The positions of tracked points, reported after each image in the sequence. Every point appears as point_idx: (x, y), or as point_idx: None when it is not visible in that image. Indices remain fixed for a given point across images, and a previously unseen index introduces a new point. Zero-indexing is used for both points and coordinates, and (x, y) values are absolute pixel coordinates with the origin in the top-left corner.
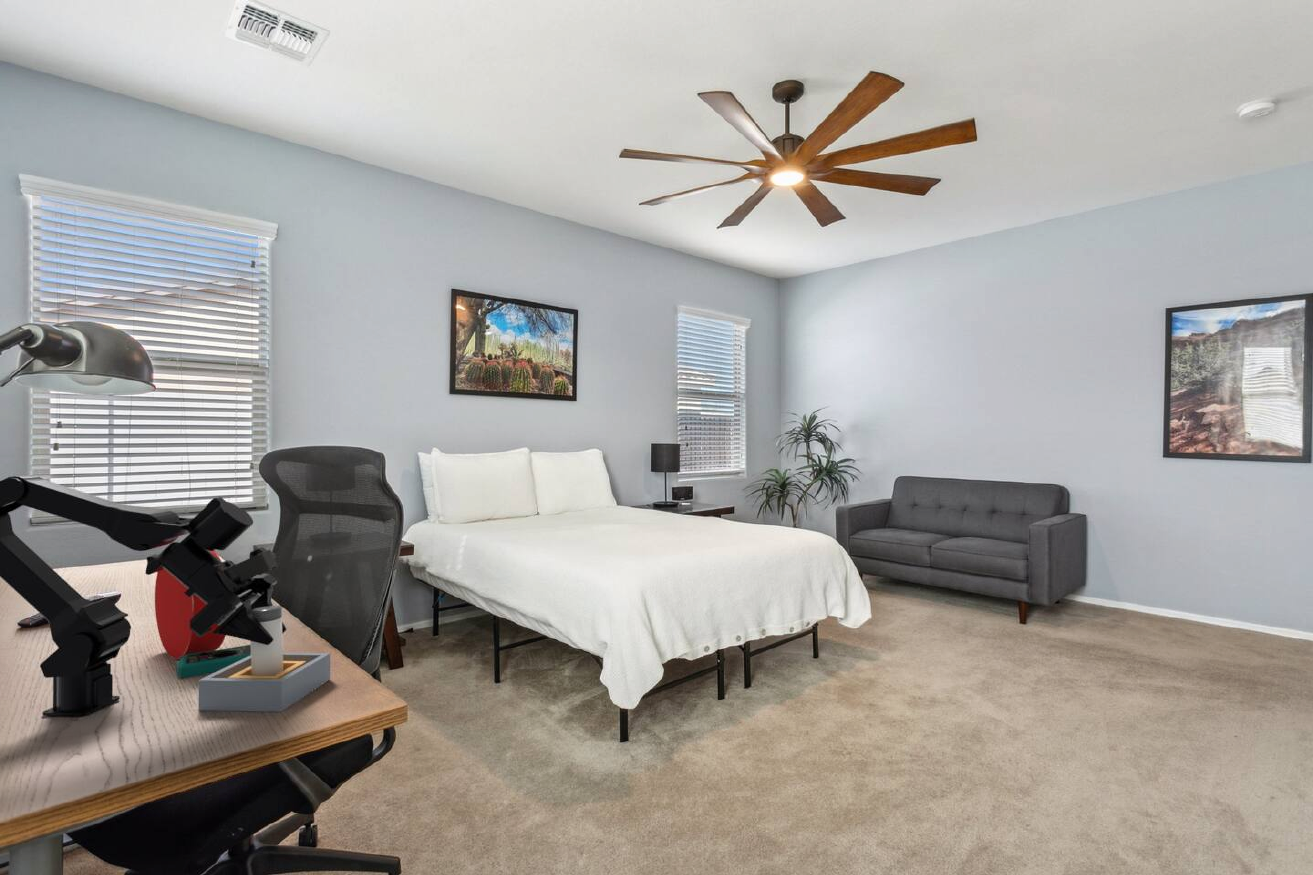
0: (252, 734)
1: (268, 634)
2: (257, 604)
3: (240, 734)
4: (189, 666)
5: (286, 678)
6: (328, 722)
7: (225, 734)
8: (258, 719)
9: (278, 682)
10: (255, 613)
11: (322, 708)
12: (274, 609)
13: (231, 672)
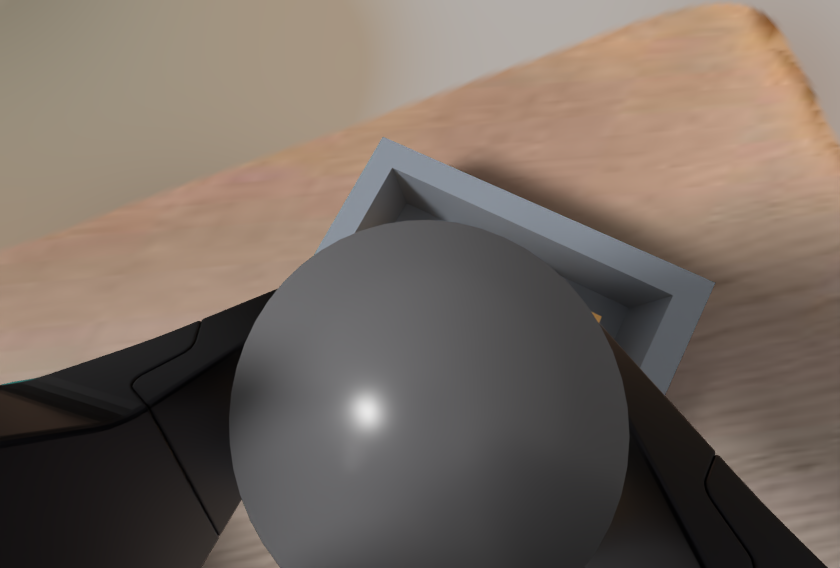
0: (835, 368)
1: (612, 349)
2: (74, 552)
3: (822, 405)
4: None
5: (675, 268)
6: (802, 159)
7: (806, 454)
8: (696, 365)
9: (708, 296)
10: (599, 537)
11: (667, 186)
12: (499, 292)
13: None
